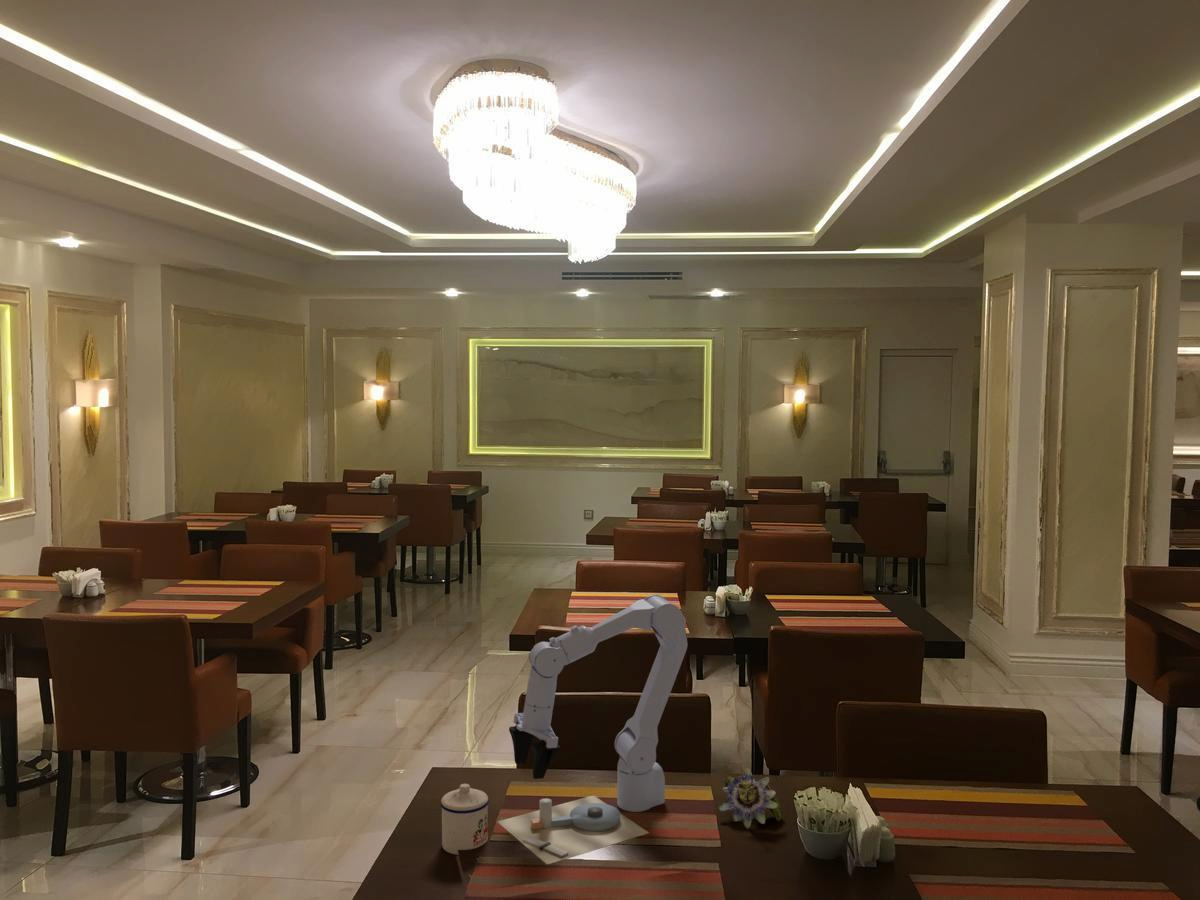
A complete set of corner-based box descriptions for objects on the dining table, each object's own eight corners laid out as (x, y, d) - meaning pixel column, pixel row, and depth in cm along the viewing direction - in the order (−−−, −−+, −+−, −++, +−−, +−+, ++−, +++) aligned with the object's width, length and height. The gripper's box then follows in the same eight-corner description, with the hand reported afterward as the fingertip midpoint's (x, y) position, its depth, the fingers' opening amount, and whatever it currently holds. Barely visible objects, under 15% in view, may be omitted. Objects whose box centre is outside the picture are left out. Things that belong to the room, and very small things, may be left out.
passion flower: (746, 854, 189) (713, 810, 186) (739, 819, 199) (707, 778, 197) (795, 826, 187) (762, 782, 185) (784, 792, 198) (753, 750, 195)
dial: (612, 806, 195) (612, 782, 195) (626, 828, 185) (626, 803, 185) (527, 816, 190) (527, 792, 190) (537, 839, 181) (537, 813, 180)
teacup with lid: (482, 858, 176) (482, 796, 175) (434, 855, 177) (434, 794, 176) (497, 828, 188) (497, 770, 187) (452, 825, 189) (451, 768, 188)
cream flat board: (593, 800, 200) (593, 792, 200) (649, 838, 184) (649, 829, 184) (497, 827, 188) (496, 818, 188) (547, 870, 171) (547, 861, 171)
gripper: (504, 692, 194) (494, 758, 194) (539, 716, 181) (529, 786, 182) (534, 691, 197) (525, 755, 198) (570, 715, 185) (560, 783, 186)
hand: (529, 770), depth 190 cm, fingers open, 7 cm apart
